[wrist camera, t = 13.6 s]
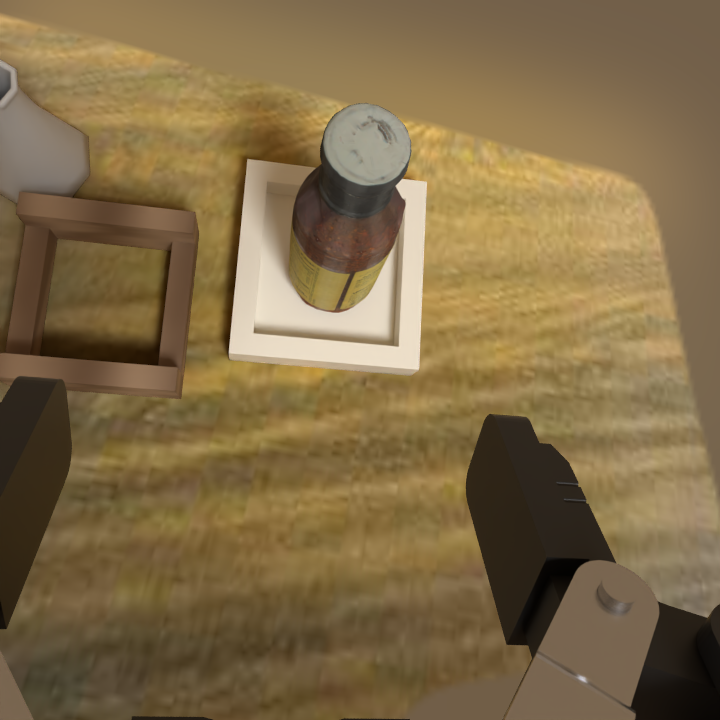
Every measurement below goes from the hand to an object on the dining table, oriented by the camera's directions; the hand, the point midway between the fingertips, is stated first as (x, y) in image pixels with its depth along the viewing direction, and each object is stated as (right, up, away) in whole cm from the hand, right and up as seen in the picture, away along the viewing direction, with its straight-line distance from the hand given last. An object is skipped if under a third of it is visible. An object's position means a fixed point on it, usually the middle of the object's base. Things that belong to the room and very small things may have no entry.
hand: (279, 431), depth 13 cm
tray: (-1, +8, +37) cm, 38 cm away
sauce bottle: (-1, +8, +37) cm, 37 cm away
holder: (-16, +5, +34) cm, 38 cm away
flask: (-21, +15, +35) cm, 44 cm away
